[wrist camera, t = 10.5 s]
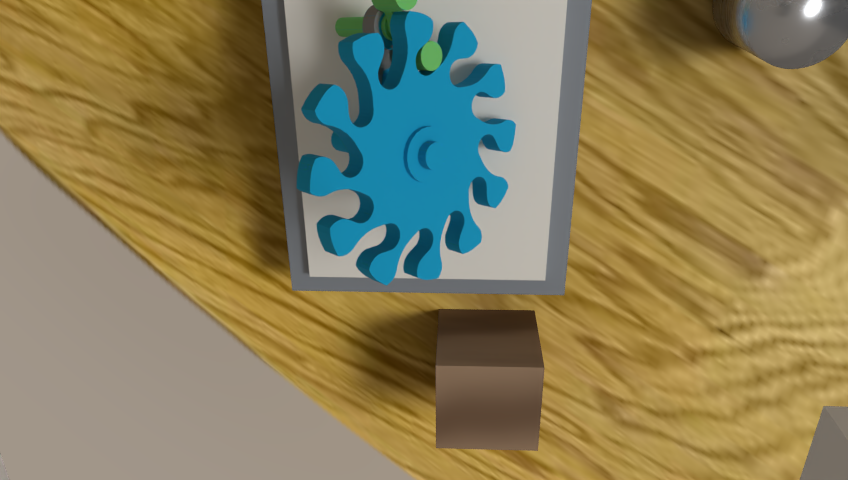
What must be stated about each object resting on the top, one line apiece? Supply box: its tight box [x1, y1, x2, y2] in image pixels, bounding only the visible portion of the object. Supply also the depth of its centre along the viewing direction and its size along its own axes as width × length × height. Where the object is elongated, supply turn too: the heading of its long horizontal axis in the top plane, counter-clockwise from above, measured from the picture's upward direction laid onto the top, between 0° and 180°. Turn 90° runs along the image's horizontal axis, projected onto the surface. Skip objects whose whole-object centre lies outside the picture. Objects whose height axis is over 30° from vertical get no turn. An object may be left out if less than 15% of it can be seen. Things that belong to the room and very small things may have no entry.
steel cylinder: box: [713, 0, 848, 69], centre depth 27 cm, size 4×4×4 cm
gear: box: [296, 0, 516, 286], centre depth 27 cm, size 11×6×10 cm
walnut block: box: [436, 309, 544, 451], centre depth 36 cm, size 5×5×5 cm
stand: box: [261, 0, 592, 295], centre depth 30 cm, size 18×13×3 cm
